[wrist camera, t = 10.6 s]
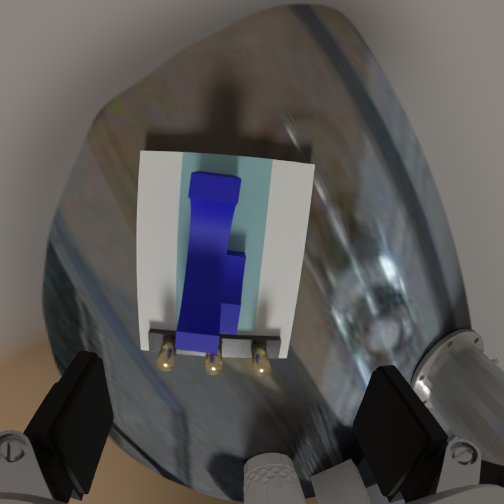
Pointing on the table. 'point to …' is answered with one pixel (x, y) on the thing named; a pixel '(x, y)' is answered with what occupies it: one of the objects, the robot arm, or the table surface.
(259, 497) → the white cup
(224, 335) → the coat peg rack
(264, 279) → the board
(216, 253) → the blue curved stepped piece
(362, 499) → the grey box
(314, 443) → the table surface
